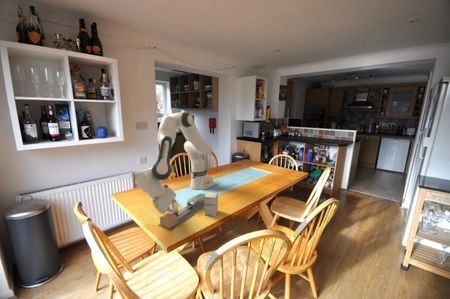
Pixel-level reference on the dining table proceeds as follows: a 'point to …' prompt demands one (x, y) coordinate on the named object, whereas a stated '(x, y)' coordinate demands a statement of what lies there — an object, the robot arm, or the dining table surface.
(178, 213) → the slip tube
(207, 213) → the supplement box
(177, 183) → the dining table surface
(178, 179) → the dining table surface
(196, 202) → the steel sleeve
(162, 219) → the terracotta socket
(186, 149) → the robot arm
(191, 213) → the charcoal board
